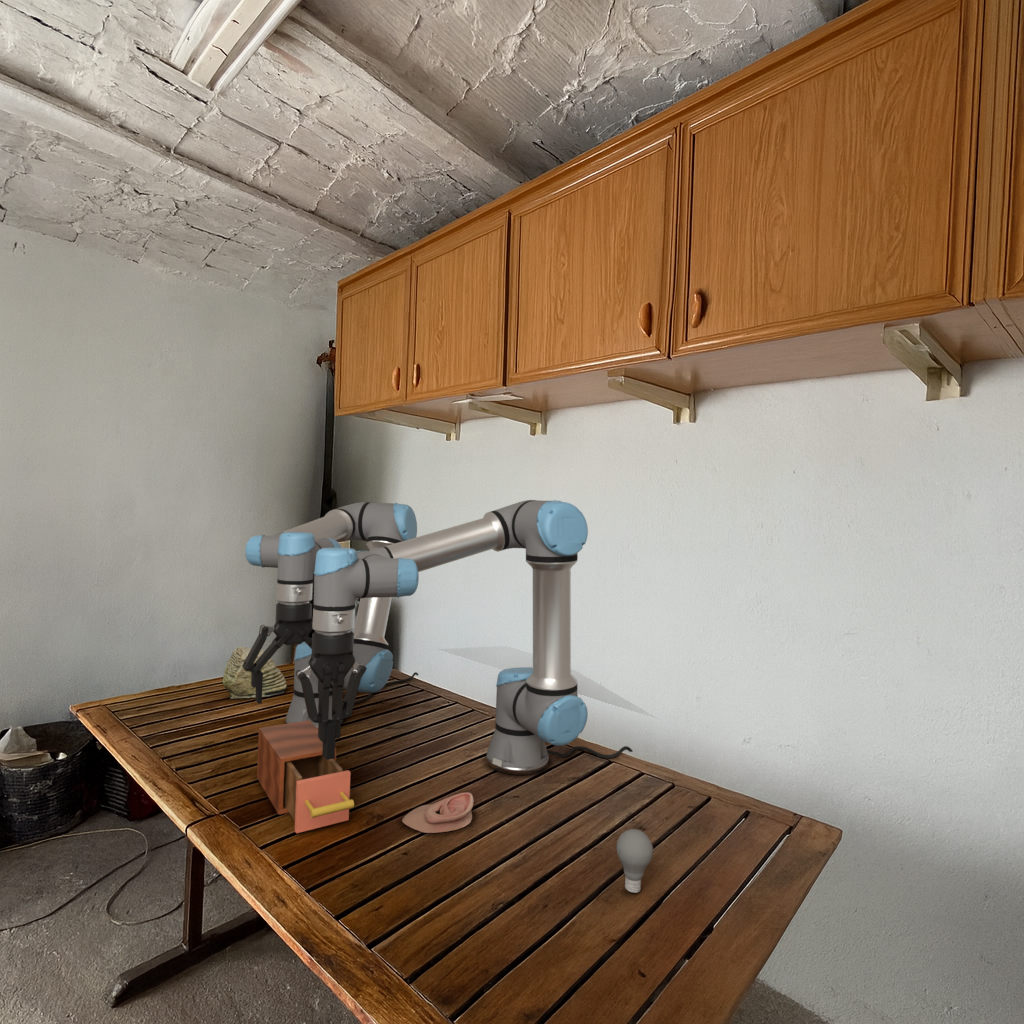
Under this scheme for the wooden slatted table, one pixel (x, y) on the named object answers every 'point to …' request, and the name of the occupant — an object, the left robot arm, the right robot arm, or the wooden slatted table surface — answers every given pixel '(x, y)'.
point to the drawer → (316, 792)
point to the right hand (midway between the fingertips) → (328, 756)
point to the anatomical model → (442, 814)
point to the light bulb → (634, 857)
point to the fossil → (240, 679)
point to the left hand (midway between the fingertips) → (290, 697)
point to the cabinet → (284, 755)
